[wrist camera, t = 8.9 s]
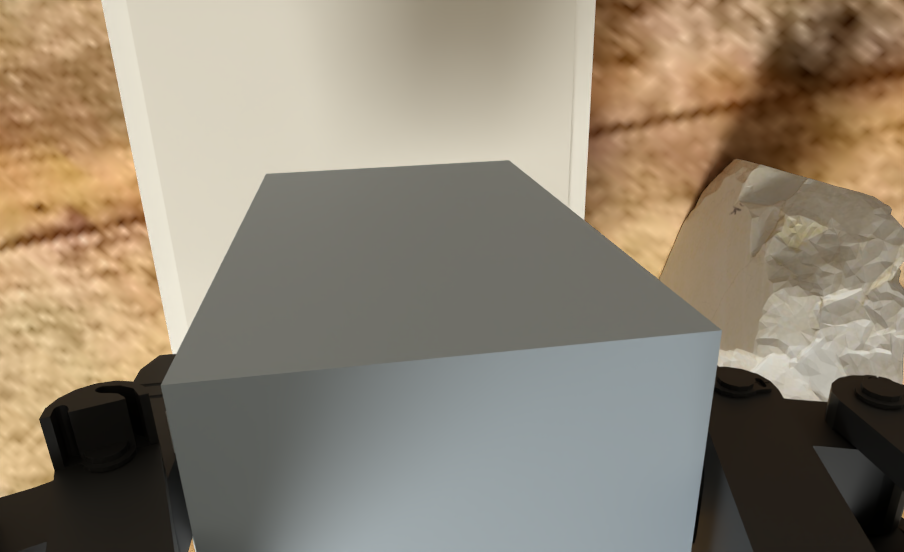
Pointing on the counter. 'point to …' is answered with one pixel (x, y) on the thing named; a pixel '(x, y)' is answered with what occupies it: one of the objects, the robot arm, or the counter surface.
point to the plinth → (335, 104)
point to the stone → (794, 278)
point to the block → (437, 375)
